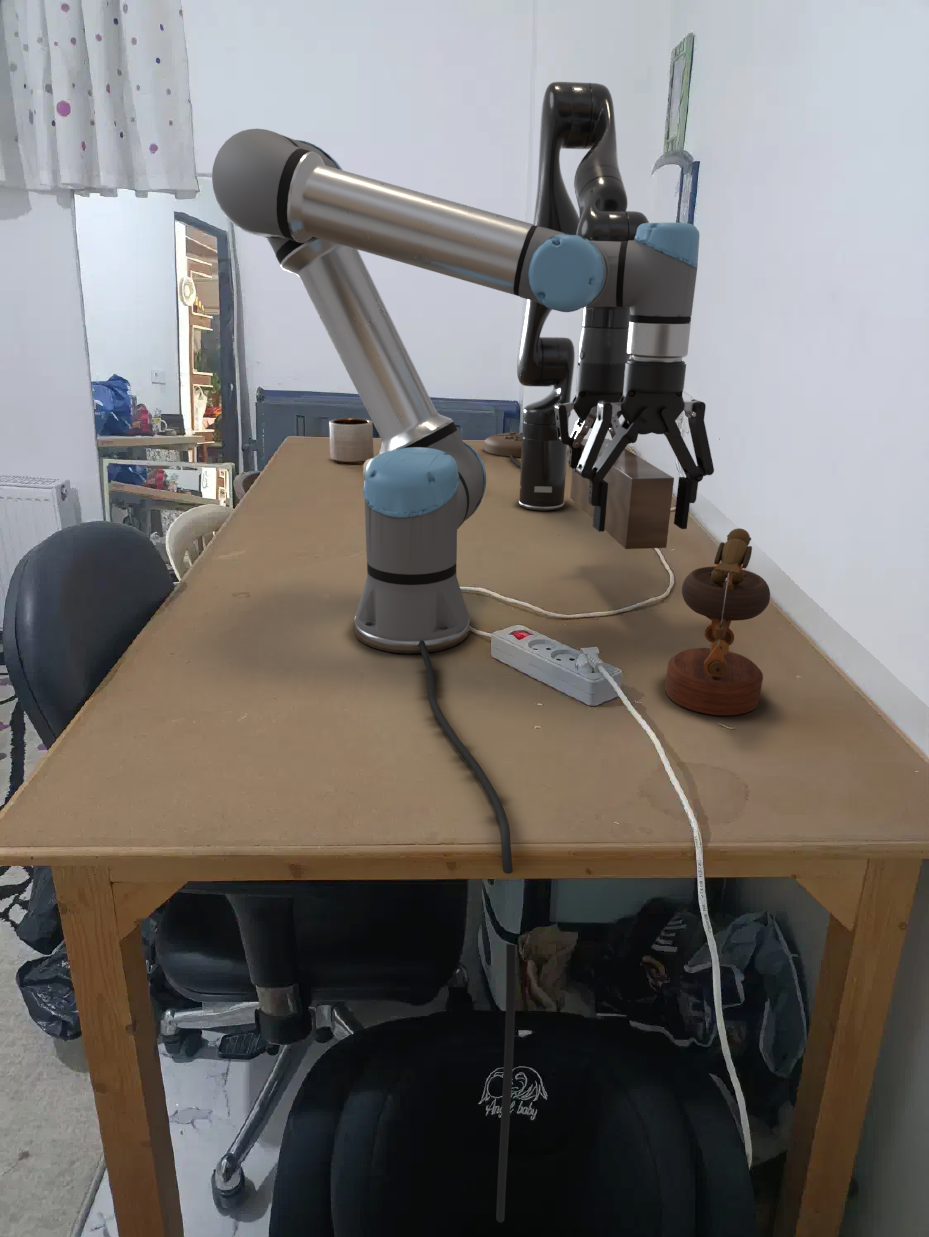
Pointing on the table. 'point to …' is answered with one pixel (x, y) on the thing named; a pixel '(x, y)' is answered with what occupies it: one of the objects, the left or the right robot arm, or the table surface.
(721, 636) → the music box
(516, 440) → the brown flat oval slab
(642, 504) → the bar
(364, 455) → the planter
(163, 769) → the table surface
